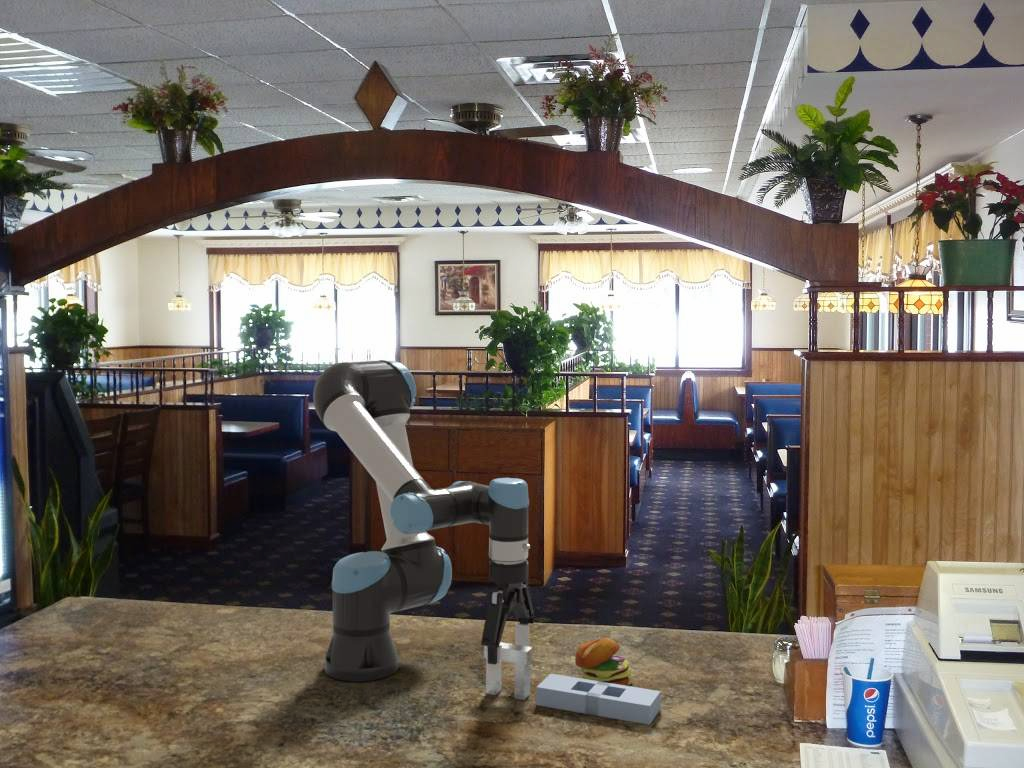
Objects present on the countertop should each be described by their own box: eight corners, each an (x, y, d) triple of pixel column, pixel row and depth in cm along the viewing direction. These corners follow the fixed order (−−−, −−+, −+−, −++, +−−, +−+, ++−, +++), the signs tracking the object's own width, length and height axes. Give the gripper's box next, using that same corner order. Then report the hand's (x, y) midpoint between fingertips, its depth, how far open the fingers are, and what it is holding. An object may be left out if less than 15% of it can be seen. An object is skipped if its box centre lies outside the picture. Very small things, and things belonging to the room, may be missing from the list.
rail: (536, 704, 191) (536, 686, 190) (550, 690, 197) (550, 673, 197) (649, 724, 182) (649, 706, 182) (660, 709, 189) (660, 691, 189)
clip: (483, 693, 196) (484, 645, 195) (490, 687, 199) (490, 640, 198) (526, 700, 193) (526, 652, 192) (532, 694, 195) (532, 647, 195)
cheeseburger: (632, 693, 196) (620, 644, 195) (579, 702, 198) (567, 653, 198) (636, 674, 206) (625, 627, 205) (585, 682, 208) (574, 636, 208)
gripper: (500, 577, 181) (500, 692, 182) (550, 547, 204) (550, 649, 205) (462, 573, 184) (463, 686, 185) (516, 543, 206) (516, 644, 208)
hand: (508, 667), depth 195 cm, fingers open, 13 cm apart
